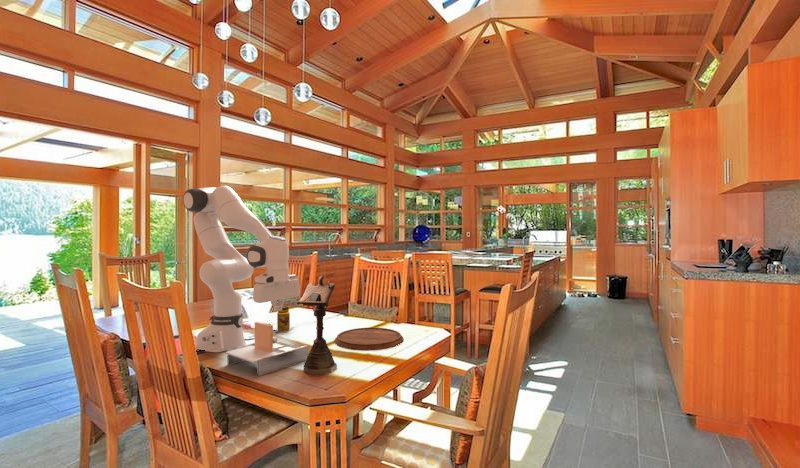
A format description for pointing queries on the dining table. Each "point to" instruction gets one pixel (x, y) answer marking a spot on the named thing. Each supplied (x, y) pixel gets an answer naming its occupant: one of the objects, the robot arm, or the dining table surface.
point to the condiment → (283, 320)
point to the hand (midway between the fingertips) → (277, 310)
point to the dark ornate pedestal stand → (318, 328)
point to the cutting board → (368, 338)
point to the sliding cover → (257, 345)
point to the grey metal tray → (275, 357)
